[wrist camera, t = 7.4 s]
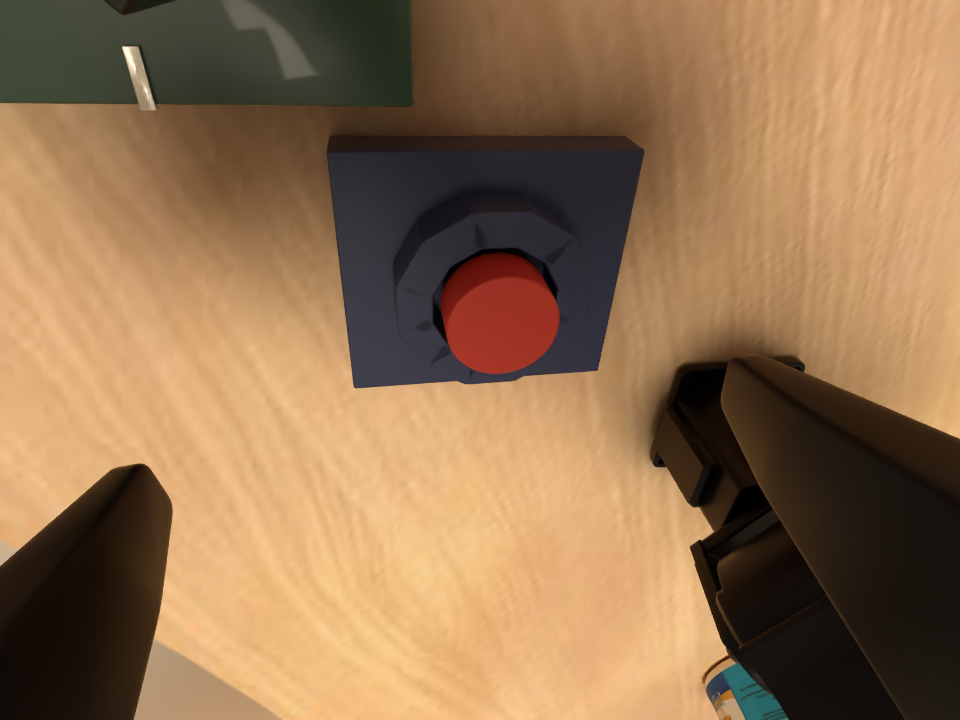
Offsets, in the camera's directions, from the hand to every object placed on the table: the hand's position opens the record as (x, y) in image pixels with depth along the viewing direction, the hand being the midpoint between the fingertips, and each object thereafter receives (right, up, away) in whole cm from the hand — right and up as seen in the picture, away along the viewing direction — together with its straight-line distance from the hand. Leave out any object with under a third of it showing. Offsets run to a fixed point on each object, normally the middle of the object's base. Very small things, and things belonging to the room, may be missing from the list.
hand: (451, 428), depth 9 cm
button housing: (0, +5, +13) cm, 13 cm away
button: (+1, +3, +10) cm, 10 cm away
